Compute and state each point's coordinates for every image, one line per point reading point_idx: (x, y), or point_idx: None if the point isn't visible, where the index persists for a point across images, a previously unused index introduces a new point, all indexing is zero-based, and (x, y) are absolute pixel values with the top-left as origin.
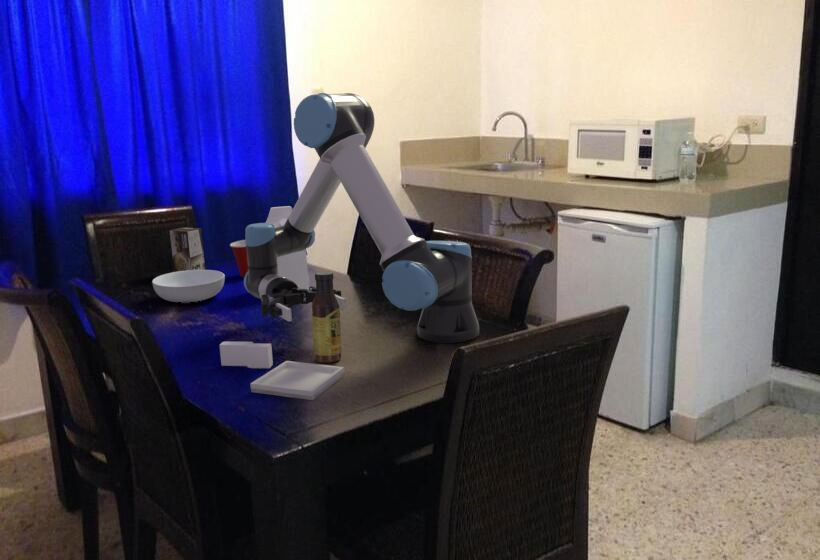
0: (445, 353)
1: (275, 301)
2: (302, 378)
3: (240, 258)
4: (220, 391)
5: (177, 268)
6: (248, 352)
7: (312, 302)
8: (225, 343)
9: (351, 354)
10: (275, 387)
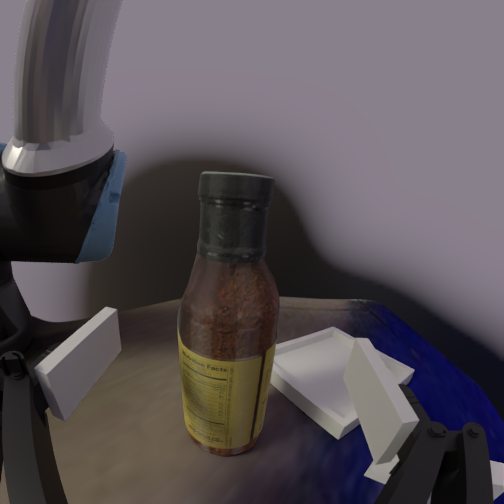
0: (74, 321)
1: (420, 474)
2: (328, 372)
3: None
4: (452, 397)
5: None
6: None
7: (275, 298)
8: (501, 471)
9: (156, 418)
10: (378, 351)
